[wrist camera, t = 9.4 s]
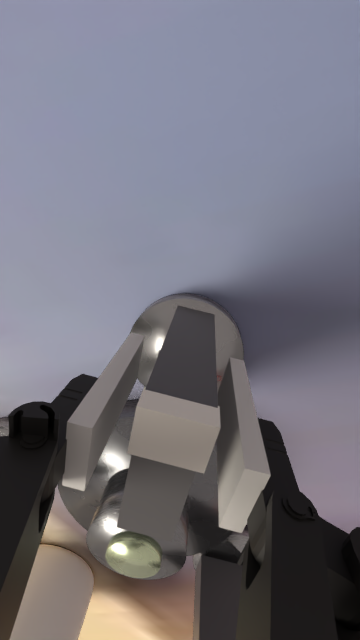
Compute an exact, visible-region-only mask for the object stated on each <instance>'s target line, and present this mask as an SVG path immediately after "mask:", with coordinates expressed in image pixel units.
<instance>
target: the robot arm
mask: <svg viewBox="0 0 360 640" xmlns="http://www.w3.org/2000/svg"><path fill="white" fill-rule="evenodd" d="M144 339H145V336H144V335H140V334H136V333H132V332H131V333H130V334H129V336H128V337H127V339H126V340H125V341H124V343H123V344H122V346H121V347H120V348H119V350H118V351H117V353H116V354H115V355H114V357H113V358H112V360H111V361H110V362H109V364H108V365H107V367H106V368H105V369H104V371H103V372H102V374H101V375H100V377H99V378H96V377H93V376H89V375H85V374H81V375H80V376H78V377H76V378H74V379H72V380H71V381H70V382H69V383H68V384H67V386H66V387H65V389H63V390H62V391H61V393H60V394H59V396H57V397H56V398H55V399H54V401H53V402H52V403H47V402H31V403H27V404H23V405H21V406H19V407H18V408H16V409H14V410H13V411H12V412H11V413H10V414H9V415H8V418H9V435H8V436H0V640H10V636H11V633H12V630H13V627H14V624H15V621H16V617H17V614H18V611H19V608H20V605H21V602H22V598H23V595H24V592H25V589H26V586H27V583H28V580H29V576H30V573H31V570H32V567H33V564H34V561H35V557H36V554H37V551H38V548H39V545H40V542H41V538H42V535H43V532H44V529H45V526H46V523H47V519H48V516H49V513H50V510H51V507H52V504H53V500H54V494H55V488H56V486H57V484H58V483H59V481H60V479H61V477H62V476H63V481H62V485H63V486H66V487H70V488H74V489H78V490H81V491H85V489H86V487H87V485H88V482H89V480H90V478H91V476H92V474H93V472H94V470H95V467H96V465H97V463H98V461H99V459H100V457H101V455H102V452H103V450H104V448H105V446H106V444H107V442H108V440H109V437H110V435H111V433H112V431H113V429H114V427H115V425H116V422H117V420H118V418H119V416H120V414H121V412H122V410H123V407H124V405H125V403H126V401H127V399H128V397H129V395H130V392H131V390H132V388H133V386H134V384H135V382H136V380H137V375H138V370H139V365H140V360H141V355H142V349H143V344H144ZM217 397H218V406H220V425H221V428H220V431H219V434H218V437H217V472H218V511H219V527H220V528H224V529H228V530H231V531H235V532H239V533H242V532H243V530H244V528H245V526H246V524H248V533H249V539H248V541H247V543H246V545H245V547H244V549H243V550H242V552H241V554H240V556H239V559H238V562H237V564H238V565H240V566H241V564H242V562H243V569H242V579H241V589H240V599H239V609H238V619H237V629H236V639H235V640H360V527H356V528H355V529H354V530H352V531H351V533H350V534H348V533H346V532H344V531H342V530H341V529H339V528H337V527H335V526H334V525H332V524H330V523H328V522H327V521H325V520H324V519H322V518H321V517H319V516H318V513H317V510H316V509H315V507H314V506H313V504H312V503H311V501H310V500H309V499H308V498H307V497H306V496H305V495H304V494H303V493H301V492H300V491H299V488H298V485H297V482H296V479H295V476H294V473H293V470H292V467H291V464H290V461H289V458H288V455H287V451H286V448H285V446H284V442H283V439H282V436H281V433H280V431H279V430H278V429H277V427H276V426H275V425H274V423H273V422H271V421H267V420H263V419H259V418H257V414H256V410H255V405H254V401H253V397H252V393H251V388H250V384H249V380H248V376H247V371H246V367H245V363H244V361H243V360H239V359H235V358H231V357H230V358H229V361H228V364H227V367H226V370H225V373H224V376H223V379H222V382H221V385H220V387H219V390H218V393H217Z"/></svg>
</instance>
